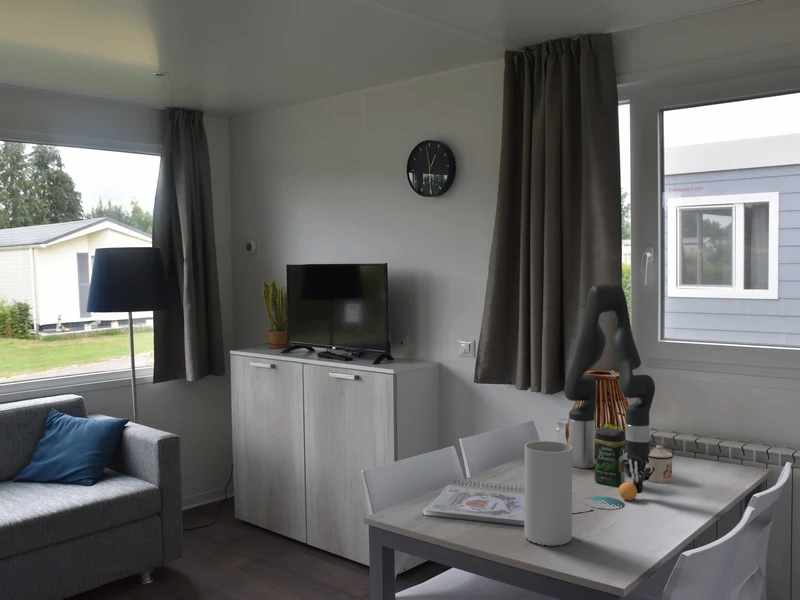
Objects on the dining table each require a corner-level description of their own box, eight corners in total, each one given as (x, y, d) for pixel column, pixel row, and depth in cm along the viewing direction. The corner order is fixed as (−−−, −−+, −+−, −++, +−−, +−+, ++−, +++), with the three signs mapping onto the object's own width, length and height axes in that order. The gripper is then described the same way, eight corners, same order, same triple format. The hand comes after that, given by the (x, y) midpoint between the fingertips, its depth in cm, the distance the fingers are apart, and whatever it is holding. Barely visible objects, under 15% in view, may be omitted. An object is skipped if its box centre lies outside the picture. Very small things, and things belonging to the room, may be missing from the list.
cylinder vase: (541, 550, 191) (542, 454, 190) (515, 534, 202) (515, 443, 201) (581, 542, 196) (581, 449, 195) (553, 527, 207) (554, 439, 206)
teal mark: (576, 500, 232) (576, 499, 232) (606, 495, 236) (606, 494, 236) (600, 511, 221) (600, 510, 221) (632, 506, 225) (632, 505, 225)
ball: (626, 497, 235) (613, 496, 233) (629, 480, 235) (617, 479, 233) (638, 503, 230) (625, 502, 228) (642, 486, 231) (629, 484, 228)
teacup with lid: (668, 484, 248) (668, 450, 247) (641, 480, 253) (641, 446, 252) (677, 476, 257) (678, 443, 257) (651, 472, 263) (651, 440, 262)
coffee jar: (591, 482, 250) (591, 428, 250) (601, 477, 257) (601, 424, 256) (618, 488, 244) (618, 432, 243) (628, 482, 250) (628, 428, 250)
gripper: (614, 435, 237) (614, 488, 238) (643, 443, 225) (643, 500, 226) (632, 433, 240) (633, 485, 241) (662, 441, 228) (662, 496, 229)
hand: (638, 492), depth 233 cm, fingers closed
